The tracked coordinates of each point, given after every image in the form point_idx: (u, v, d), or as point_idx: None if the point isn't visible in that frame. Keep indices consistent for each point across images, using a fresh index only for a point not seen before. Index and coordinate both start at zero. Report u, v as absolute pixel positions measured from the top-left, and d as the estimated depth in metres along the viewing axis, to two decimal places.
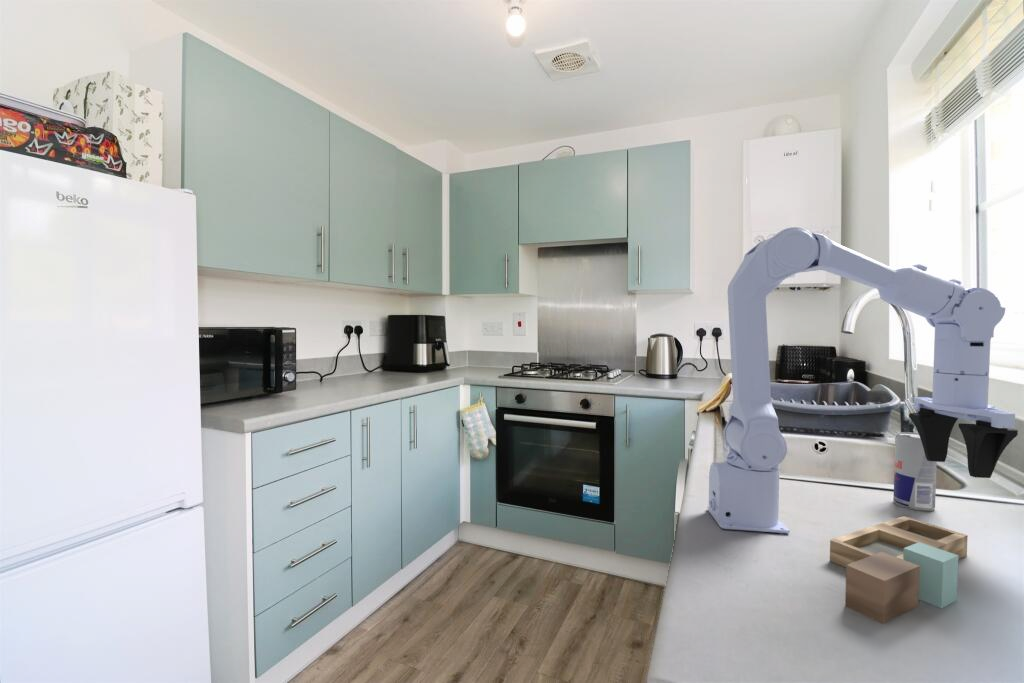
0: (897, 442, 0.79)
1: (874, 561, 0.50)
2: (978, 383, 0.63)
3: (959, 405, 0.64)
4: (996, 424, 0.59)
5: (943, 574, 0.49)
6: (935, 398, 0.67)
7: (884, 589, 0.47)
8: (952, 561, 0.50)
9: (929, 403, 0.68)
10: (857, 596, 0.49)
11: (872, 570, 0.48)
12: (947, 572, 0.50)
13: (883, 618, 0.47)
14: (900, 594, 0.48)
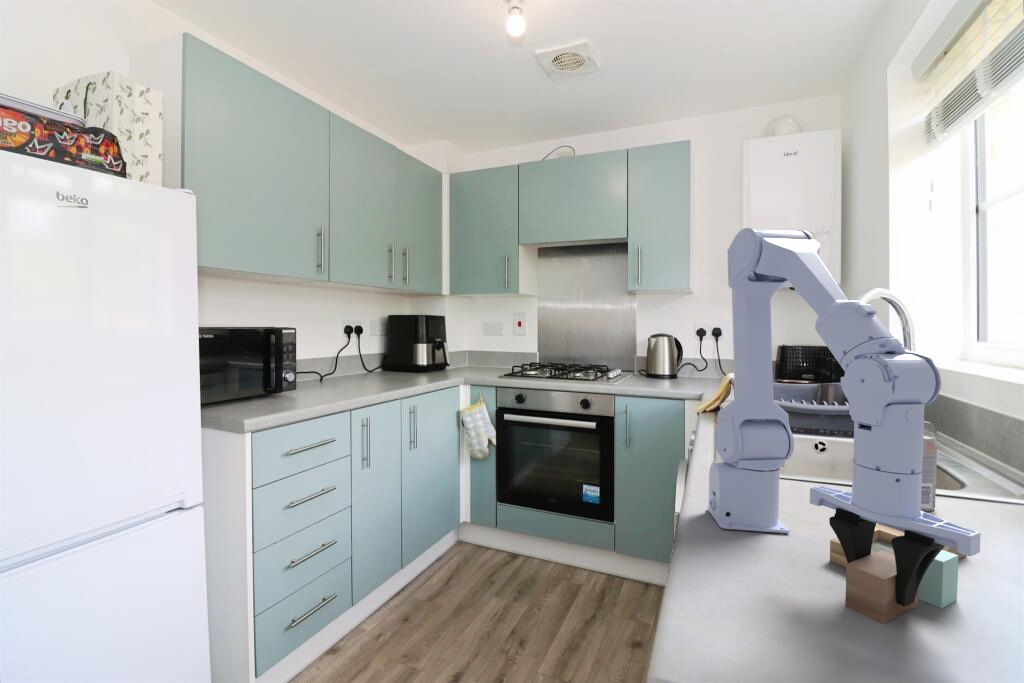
0: None
1: (874, 560, 0.50)
2: (919, 484, 0.47)
3: (902, 516, 0.47)
4: (967, 551, 0.43)
5: (943, 574, 0.49)
6: (866, 503, 0.49)
7: (884, 588, 0.47)
8: (952, 561, 0.50)
9: (853, 507, 0.50)
10: (857, 595, 0.49)
11: (872, 569, 0.48)
12: (947, 572, 0.50)
13: (883, 617, 0.47)
14: None
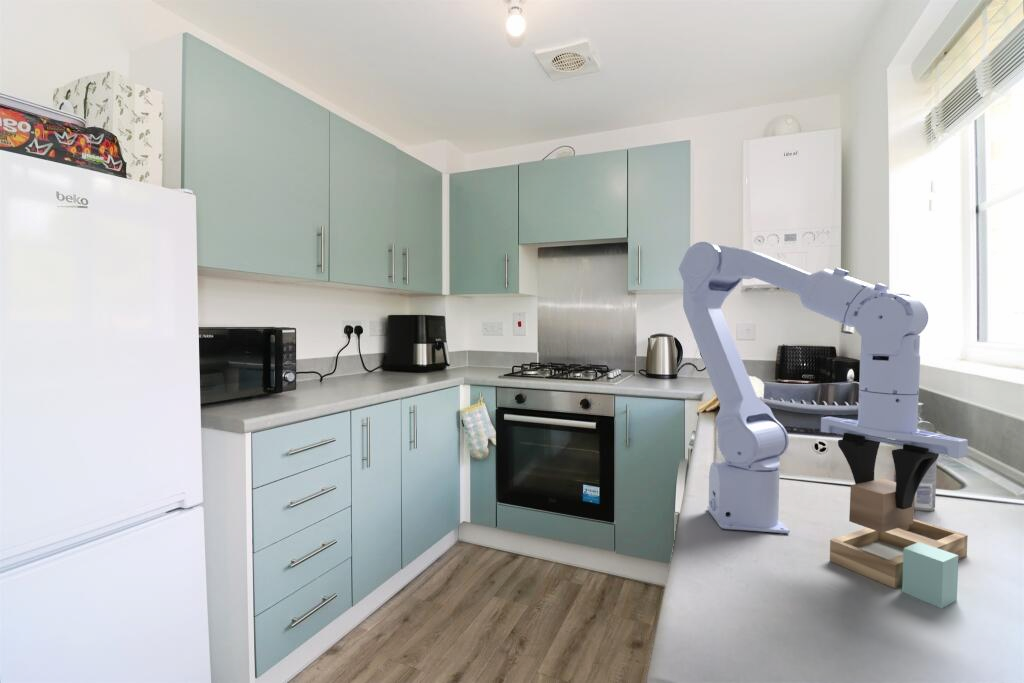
0: None
1: (875, 483, 0.58)
2: (916, 404, 0.55)
3: (901, 431, 0.54)
4: (956, 454, 0.51)
5: (943, 574, 0.49)
6: (870, 422, 0.56)
7: (883, 502, 0.54)
8: (952, 561, 0.50)
9: (858, 428, 0.58)
10: (860, 511, 0.56)
11: (873, 488, 0.56)
12: (947, 572, 0.50)
13: (882, 526, 0.54)
14: (897, 509, 0.56)
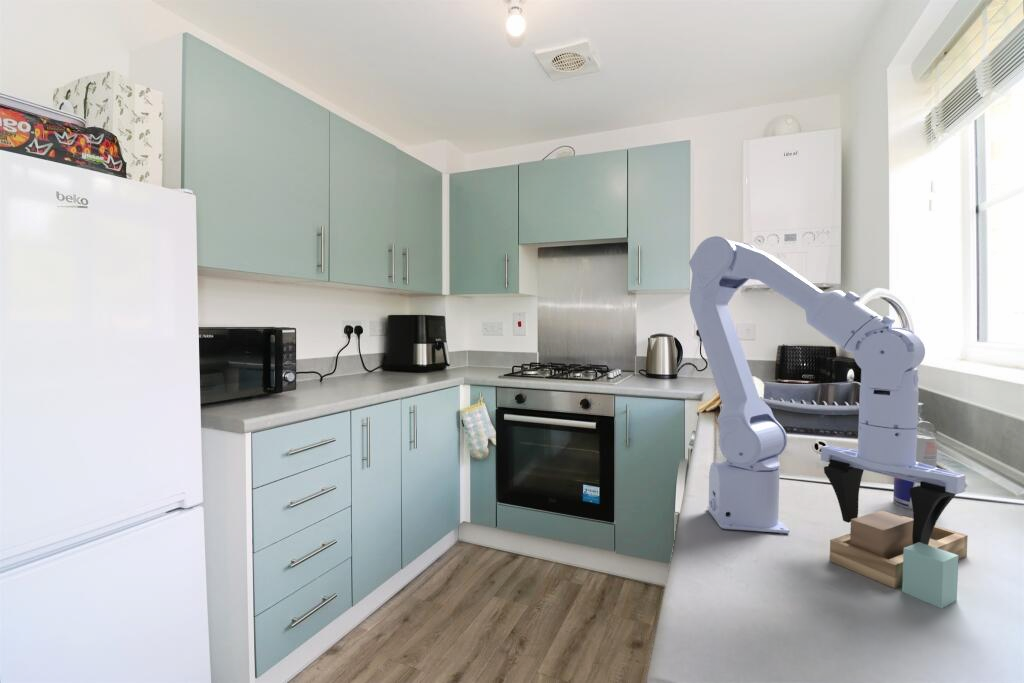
0: None
1: (874, 517, 0.59)
2: (914, 437, 0.56)
3: (900, 464, 0.55)
4: (954, 490, 0.52)
5: (943, 574, 0.49)
6: (870, 455, 0.57)
7: (883, 537, 0.55)
8: (952, 561, 0.50)
9: (858, 460, 0.59)
10: (860, 545, 0.57)
11: (872, 523, 0.57)
12: (947, 572, 0.50)
13: None
14: (897, 543, 0.57)
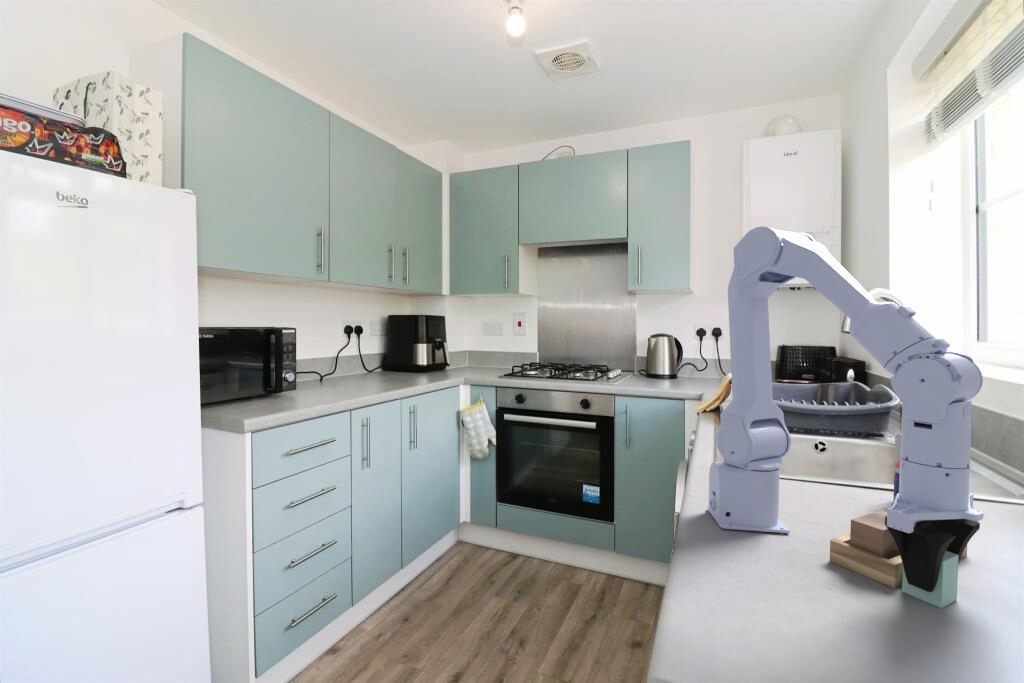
0: (897, 442, 0.79)
1: (874, 517, 0.59)
2: (922, 475, 0.50)
3: (903, 497, 0.52)
4: None
5: (943, 574, 0.49)
6: None
7: (883, 537, 0.55)
8: (952, 561, 0.50)
9: None
10: (860, 545, 0.57)
11: (872, 523, 0.57)
12: (947, 571, 0.50)
13: None
14: None
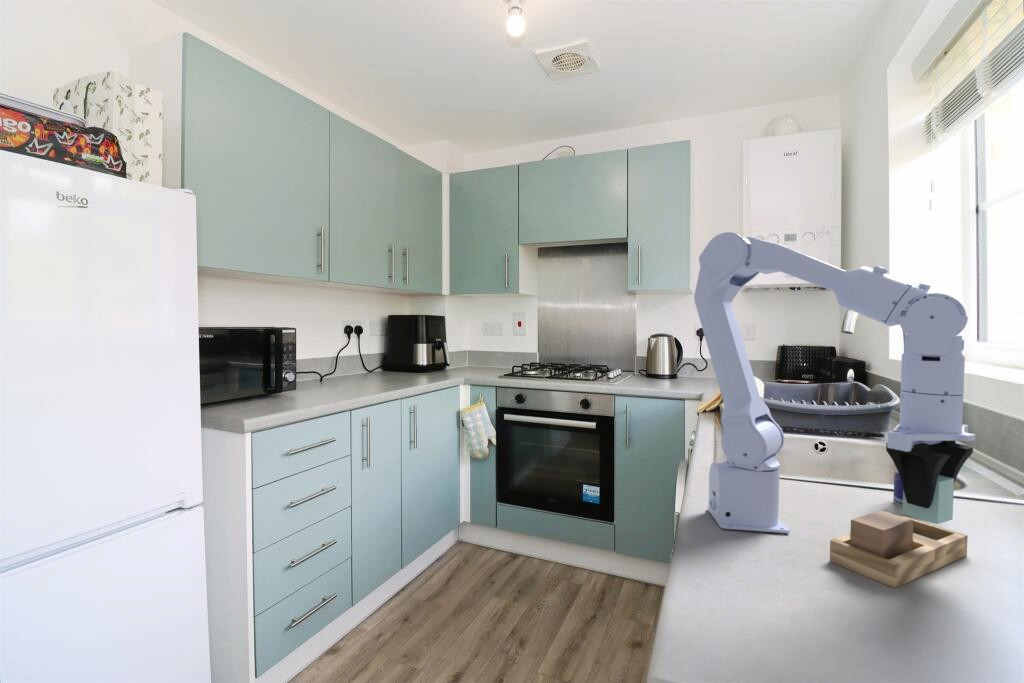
0: None
1: (874, 517, 0.59)
2: (919, 402, 0.55)
3: (902, 425, 0.57)
4: None
5: (939, 493, 0.55)
6: None
7: (883, 537, 0.55)
8: (948, 483, 0.56)
9: None
10: (860, 545, 0.57)
11: (872, 523, 0.57)
12: (943, 492, 0.55)
13: None
14: (897, 543, 0.57)
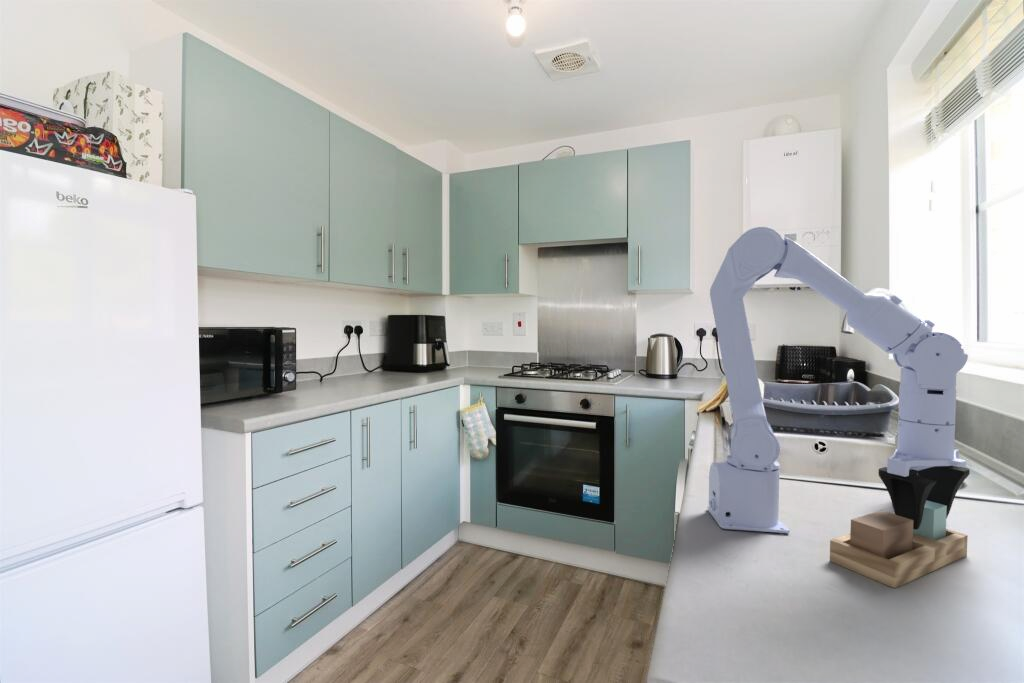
0: None
1: (874, 517, 0.59)
2: (916, 431, 0.61)
3: (900, 451, 0.63)
4: (888, 469, 0.60)
5: (933, 520, 0.60)
6: None
7: (883, 537, 0.55)
8: (941, 510, 0.61)
9: None
10: (860, 545, 0.57)
11: (872, 523, 0.57)
12: (937, 518, 0.61)
13: None
14: (897, 543, 0.57)
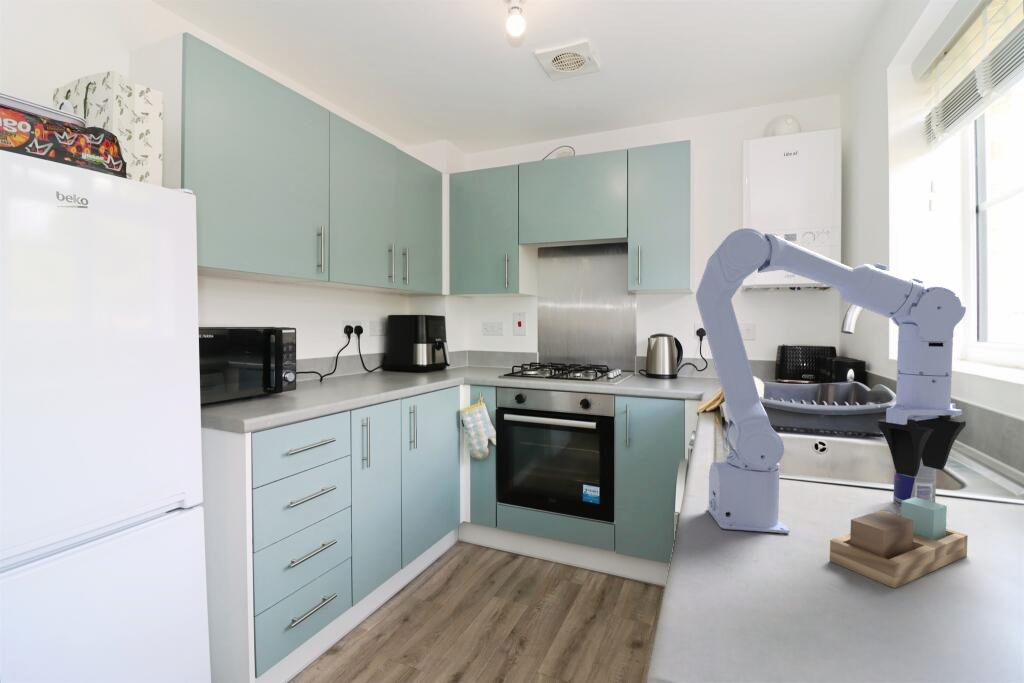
0: None
1: (874, 517, 0.59)
2: (914, 383, 0.63)
3: (899, 403, 0.65)
4: None
5: (933, 520, 0.60)
6: None
7: (883, 537, 0.55)
8: (941, 510, 0.61)
9: None
10: (860, 545, 0.57)
11: (872, 523, 0.57)
12: (937, 518, 0.61)
13: None
14: (897, 543, 0.57)
